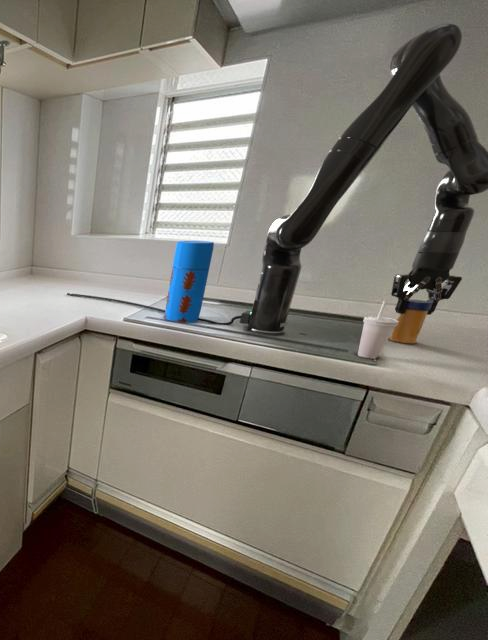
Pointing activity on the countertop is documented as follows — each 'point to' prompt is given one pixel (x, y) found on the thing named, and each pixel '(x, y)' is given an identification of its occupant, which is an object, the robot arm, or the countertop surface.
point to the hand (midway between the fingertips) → (412, 313)
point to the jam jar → (409, 326)
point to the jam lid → (419, 305)
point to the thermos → (188, 280)
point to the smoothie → (375, 334)
